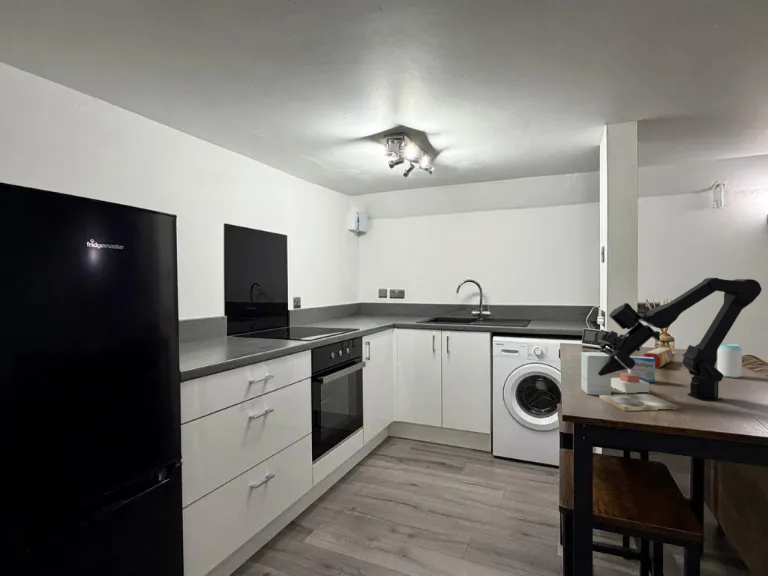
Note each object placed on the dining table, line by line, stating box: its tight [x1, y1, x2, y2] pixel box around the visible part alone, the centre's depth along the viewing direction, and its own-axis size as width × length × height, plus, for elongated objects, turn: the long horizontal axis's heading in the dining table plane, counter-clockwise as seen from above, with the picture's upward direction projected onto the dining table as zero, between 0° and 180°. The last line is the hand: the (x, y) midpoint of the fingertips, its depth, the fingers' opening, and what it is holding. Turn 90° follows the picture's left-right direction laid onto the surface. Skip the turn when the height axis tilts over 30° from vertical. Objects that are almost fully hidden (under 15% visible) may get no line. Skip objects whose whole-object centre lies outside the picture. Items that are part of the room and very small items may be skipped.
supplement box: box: [580, 351, 612, 396], centre depth 138 cm, size 7×7×13 cm
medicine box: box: [627, 355, 656, 383], centre depth 152 cm, size 8×4×9 cm, turn 68°
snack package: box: [642, 347, 674, 369], centre depth 180 cm, size 21×7×7 cm, turn 133°
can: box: [716, 343, 743, 379], centre depth 158 cm, size 7×7×12 cm
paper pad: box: [598, 393, 679, 412], centre depth 125 cm, size 16×12×1 cm
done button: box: [619, 372, 639, 383], centre depth 141 cm, size 4×4×3 cm
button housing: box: [611, 377, 650, 394], centre depth 141 cm, size 8×8×3 cm
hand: (596, 372), depth 138 cm, fingers closed on supplement box, 7 cm apart
